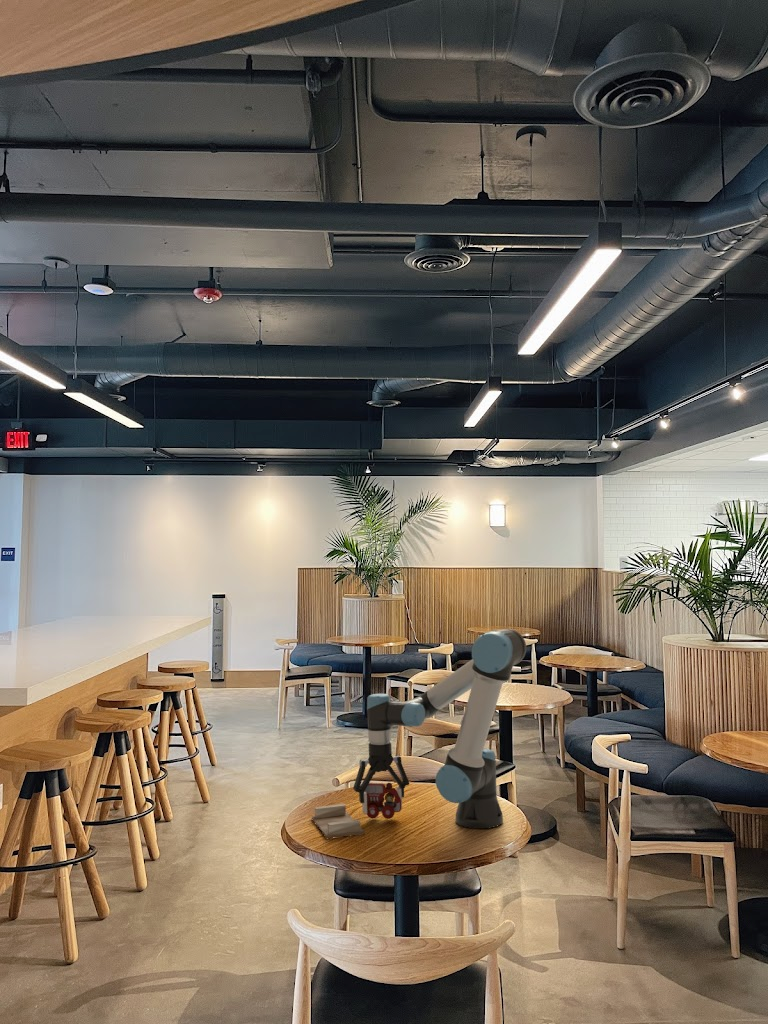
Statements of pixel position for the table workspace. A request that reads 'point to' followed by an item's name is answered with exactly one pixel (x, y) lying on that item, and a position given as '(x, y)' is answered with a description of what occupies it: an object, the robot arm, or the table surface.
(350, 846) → the table surface
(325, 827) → the gray jig
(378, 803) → the toy fire truck
